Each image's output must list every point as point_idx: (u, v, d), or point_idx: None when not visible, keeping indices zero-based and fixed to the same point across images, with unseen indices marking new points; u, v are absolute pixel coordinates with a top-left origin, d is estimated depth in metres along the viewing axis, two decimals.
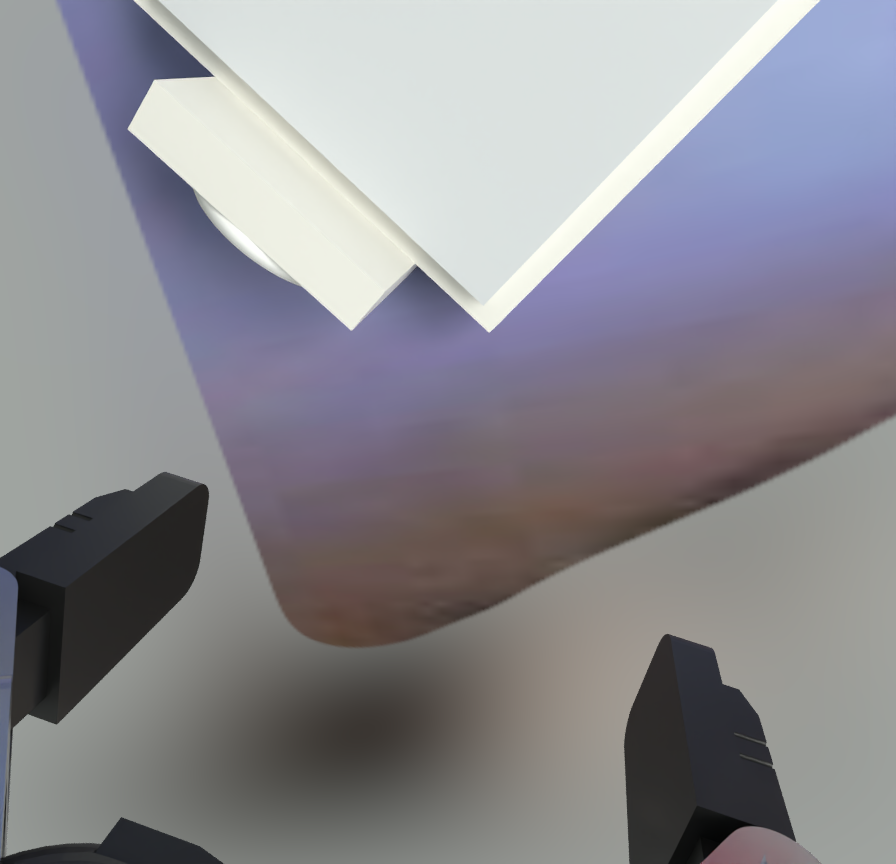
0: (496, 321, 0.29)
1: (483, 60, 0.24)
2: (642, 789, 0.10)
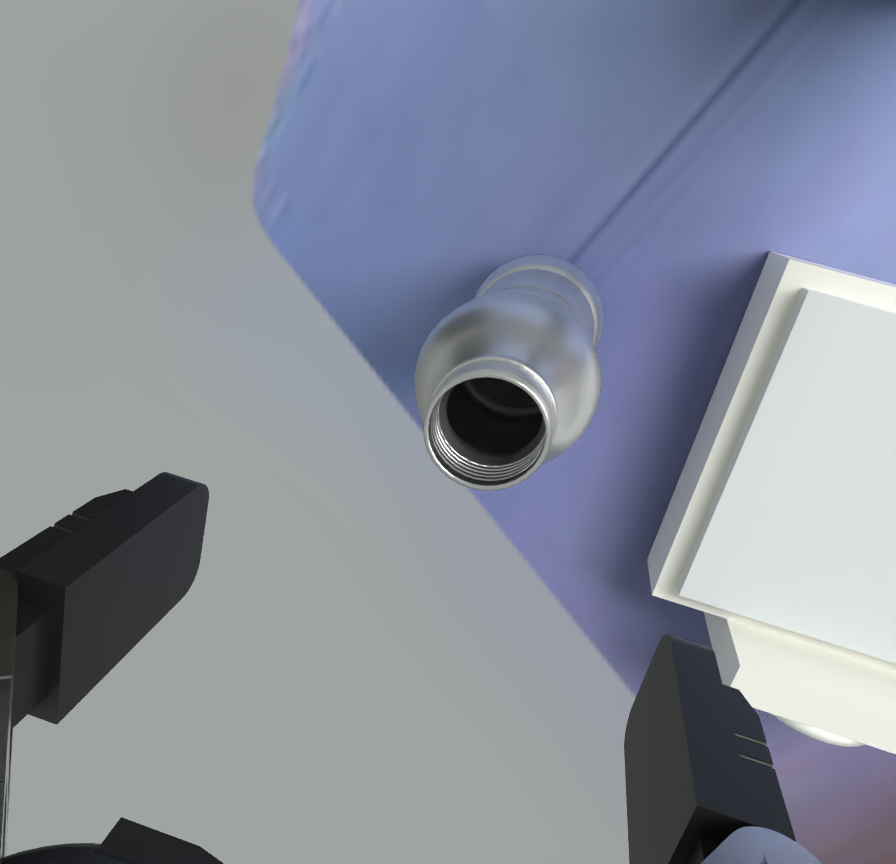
0: None
1: None
2: (642, 789, 0.10)
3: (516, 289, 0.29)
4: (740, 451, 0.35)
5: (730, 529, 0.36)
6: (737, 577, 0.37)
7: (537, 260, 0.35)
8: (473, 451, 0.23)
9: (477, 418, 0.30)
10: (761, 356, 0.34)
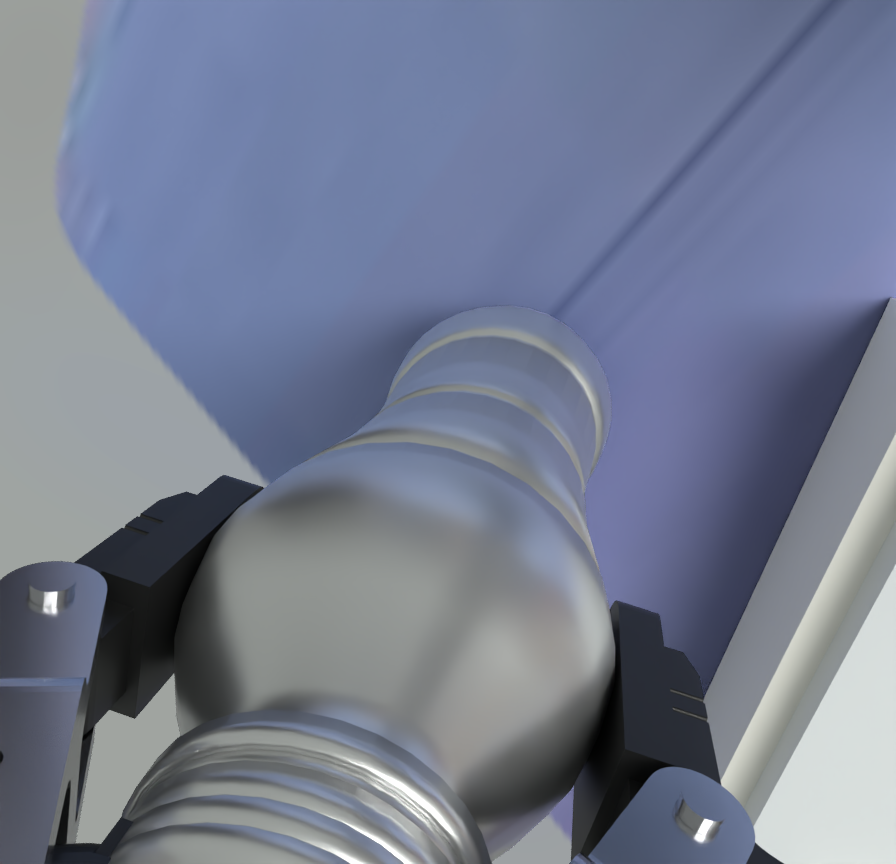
0: None
1: None
2: None
3: (439, 401, 0.14)
4: (849, 649, 0.20)
5: (826, 769, 0.21)
6: (834, 841, 0.22)
7: (497, 318, 0.20)
8: None
9: None
10: (889, 488, 0.19)
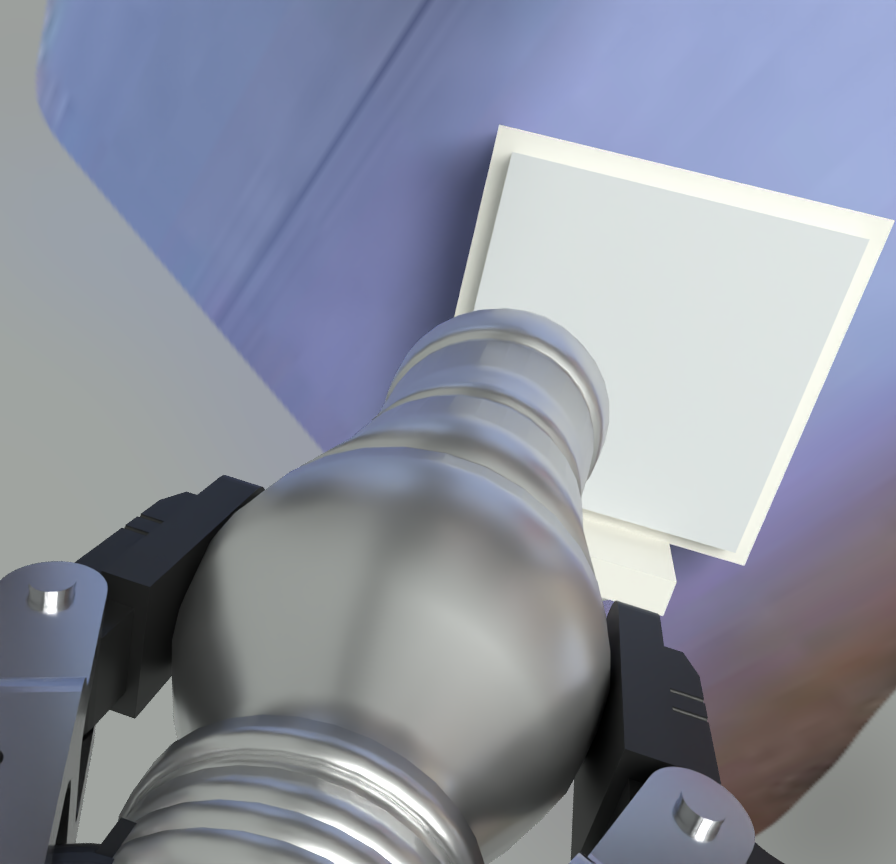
0: (745, 556, 0.39)
1: (667, 412, 0.36)
2: None
3: (436, 405, 0.14)
4: None
5: None
6: None
7: (495, 321, 0.20)
8: None
9: None
10: (486, 223, 0.36)
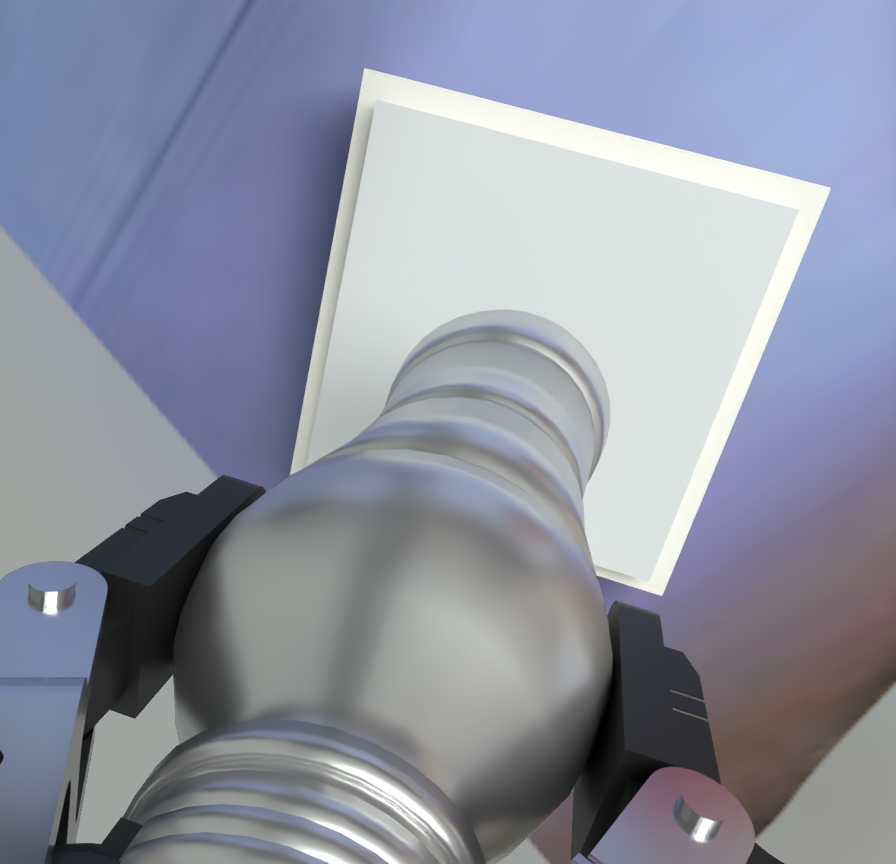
0: (663, 585, 0.33)
1: None
2: None
3: (437, 406, 0.14)
4: (339, 299, 0.31)
5: (343, 393, 0.32)
6: None
7: (496, 322, 0.20)
8: None
9: None
10: (354, 188, 0.30)
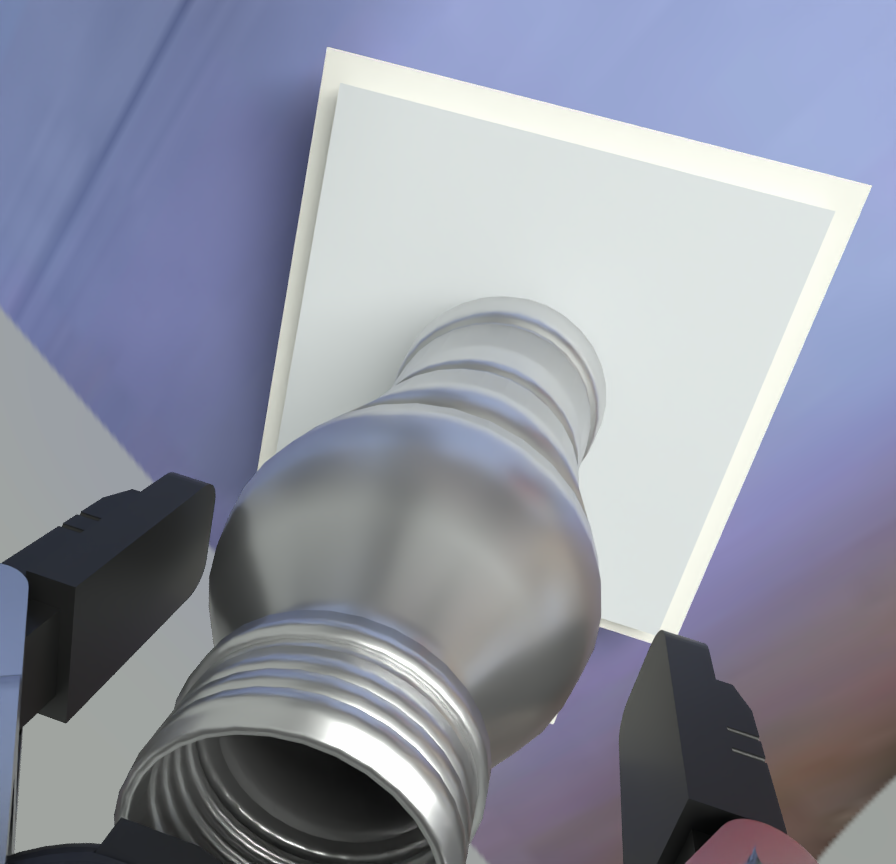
0: None
1: None
2: (635, 784, 0.10)
3: (443, 376, 0.16)
4: (301, 313, 0.27)
5: (308, 420, 0.28)
6: None
7: (497, 307, 0.22)
8: (300, 805, 0.10)
9: None
10: (317, 186, 0.26)
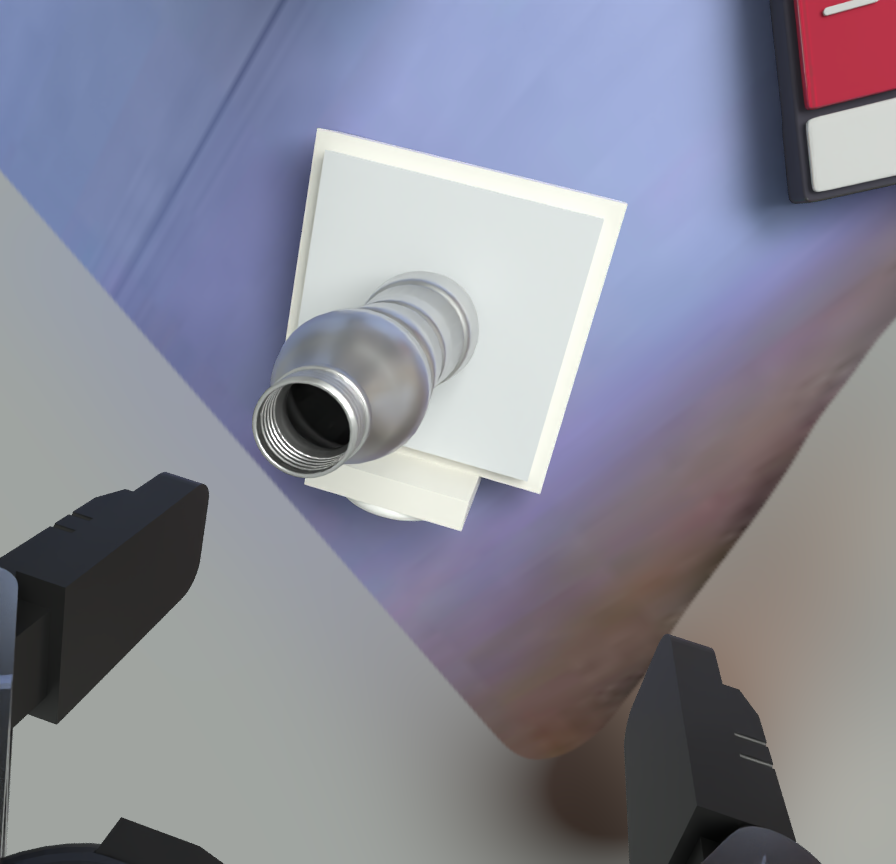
0: (540, 485, 0.47)
1: None
2: (642, 789, 0.10)
3: (373, 304, 0.33)
4: (304, 285, 0.44)
5: None
6: None
7: (413, 276, 0.39)
8: (309, 446, 0.27)
9: (343, 418, 0.34)
10: (313, 208, 0.44)
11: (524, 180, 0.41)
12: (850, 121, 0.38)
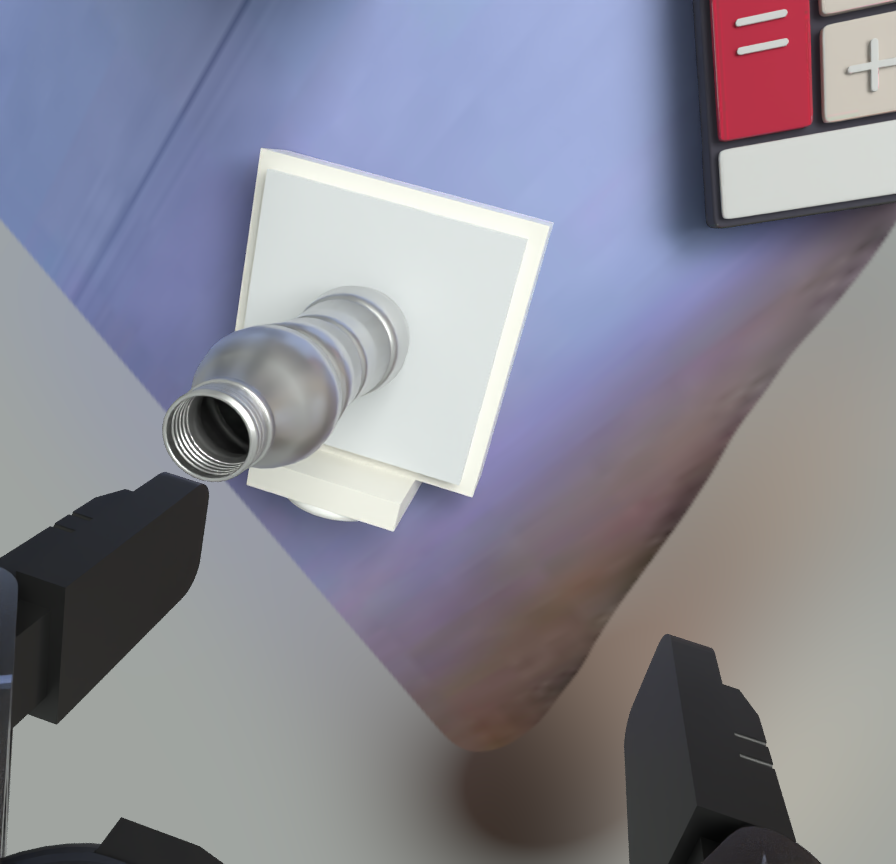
0: (472, 489, 0.49)
1: None
2: (642, 789, 0.10)
3: (295, 319, 0.36)
4: (249, 296, 0.47)
5: None
6: None
7: (344, 291, 0.41)
8: (220, 452, 0.30)
9: None
10: (257, 223, 0.46)
11: (454, 201, 0.43)
12: (758, 155, 0.40)
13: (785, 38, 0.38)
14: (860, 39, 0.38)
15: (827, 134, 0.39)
